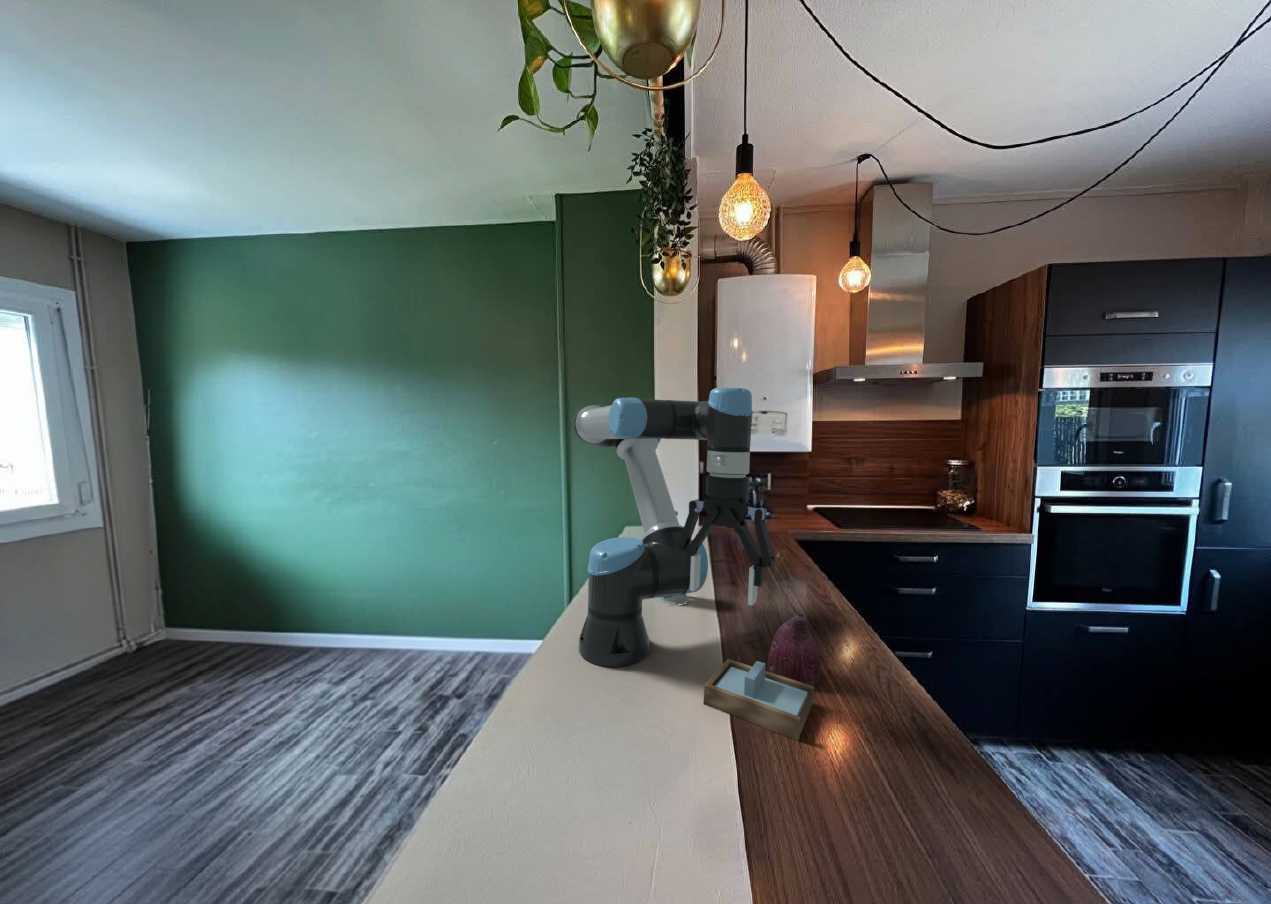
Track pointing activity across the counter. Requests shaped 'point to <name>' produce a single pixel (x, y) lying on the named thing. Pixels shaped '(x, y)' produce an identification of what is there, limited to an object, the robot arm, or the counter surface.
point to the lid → (763, 688)
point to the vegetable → (795, 652)
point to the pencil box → (758, 703)
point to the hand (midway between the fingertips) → (722, 595)
